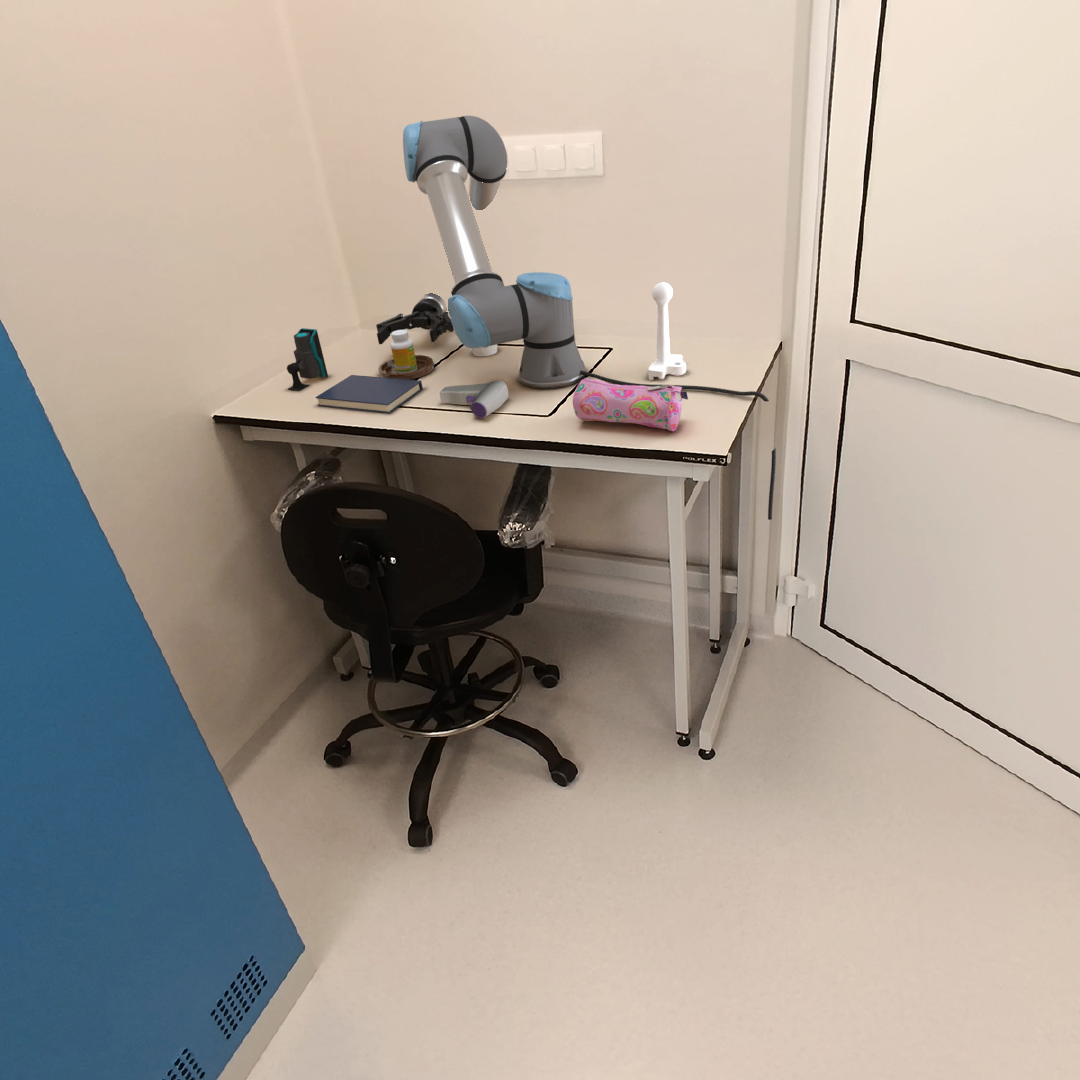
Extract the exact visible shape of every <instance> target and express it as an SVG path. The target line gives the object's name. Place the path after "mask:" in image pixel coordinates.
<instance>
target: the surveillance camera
mask: <svg viewBox="0 0 1080 1080" xmlns="http://www.w3.org/2000/svg"><path fill="white" fill-rule="evenodd" d="M293 339H294V345H295V349H294V350H293V355H294V359H295V362H292V363H289V364H288V365H287V366H286V371H287V373H288V374H290V375H291V378H292V386H290V387H288V388H287V390H289V391H293V392H294V391H295V392H300V391H302V390H305V389H306V388H307V387H309V386H310V384H305V383H302V382H301V379H307V380H313V379H316V378H318V377H319V378H329V375H328V369H327V366H326V362H325V357H324V353H323V349H322V345H321V341H320V337H319V333H318V329H316V328H306V327H302V328H300V329H299V330H298V331H297V333H295V334H294V335H293Z"/></svg>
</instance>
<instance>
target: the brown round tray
mask: <svg viewBox="0 0 1080 1080" xmlns="http://www.w3.org/2000/svg"><path fill="white" fill-rule="evenodd" d="M415 357H416V363H417V370H416V371H413V372H408V373H397V372H396V370H395V365H394V360H393V358H390V359H388V360H386V361H384V362H382V363H381V364H379V366H378V374H379V377H383V378H396V379H408V380H416V379H418V378H422V377H423V376H426V375H428V374H430V373H431V372H433V370H434V368H435V365H434V360H433V358H432V357H430V356H428V355H423V354H415Z"/></svg>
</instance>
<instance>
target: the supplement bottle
mask: <svg viewBox="0 0 1080 1080" xmlns="http://www.w3.org/2000/svg"><path fill="white" fill-rule="evenodd" d="M390 336H391V339H392V341H391V343H390V349H391V354H392V359H393V360H394V365H395V370H396V372H397V373H408V372H413V371H416V370H417V363H416V357H415V355H416V353H415V347H414V342H413V340H412V339H411V338H409V337H410V336H409V331H408V329H404V330H397V331H394V332H392V333H391V334H390Z"/></svg>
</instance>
